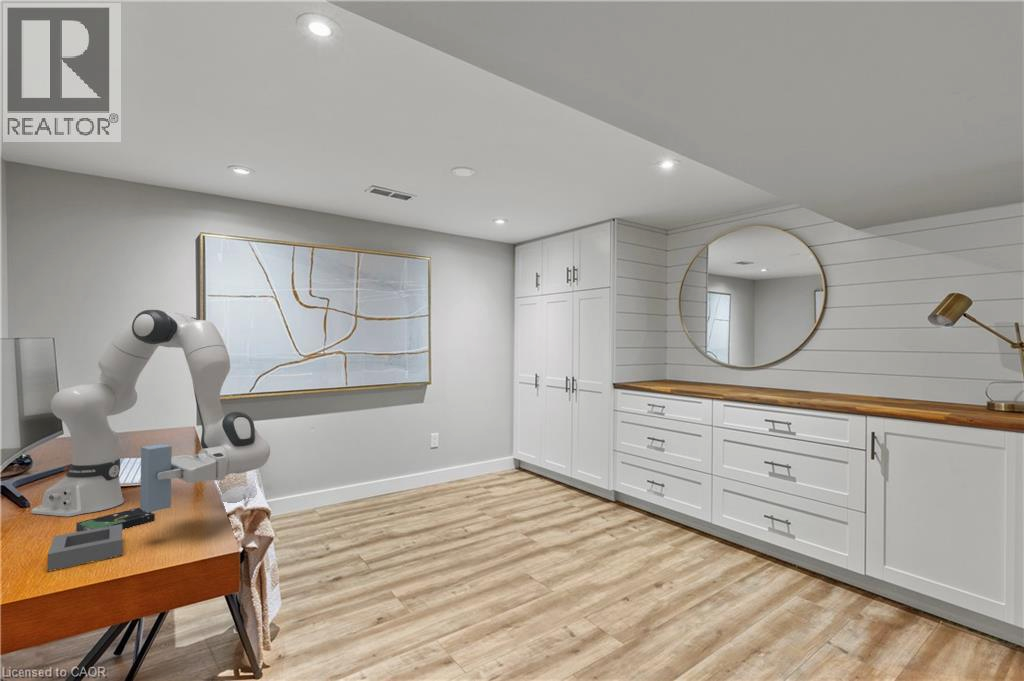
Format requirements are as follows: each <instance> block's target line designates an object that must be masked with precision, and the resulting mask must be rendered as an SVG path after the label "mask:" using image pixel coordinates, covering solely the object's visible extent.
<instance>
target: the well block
mask: <svg viewBox="0 0 1024 681" xmlns="http://www.w3.org/2000/svg"><path fill="white" fill-rule="evenodd" d="M123 539H124V538H123V530H122V524H119V525H113V526H107V527H102V528H96V529H91V530H85V531H80V532H78V531H75V532H69V533H64V534H58V535H54V536H53V538H52V541H51V544H50V547H49V550H48V552H47V571H50V570H54V569H60V568H64V569H67V568H66V567H69V568H72V567H71V566H74V567H76V566H75V565H78V564H83V563H86V562H91V561H97V560H101V561H103V560H102V559H106V560H108V559H107V558H111V557H115V556H120V555H122V556H123ZM120 557H121V556H120ZM115 558H116V557H115ZM111 559H112V558H111ZM97 562H98V561H97ZM83 565H84V564H83ZM78 566H79V565H78ZM60 570H61V569H60ZM47 571H46V572H47ZM50 572H51V571H50Z"/></svg>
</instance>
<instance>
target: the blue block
mask: <svg viewBox="0 0 1024 681" xmlns="http://www.w3.org/2000/svg"><path fill="white" fill-rule="evenodd" d="M172 449H173V447H172V445H169V444H165V443H161V444H154V445H146V446H141V447H140V492H139V493H140V500H139V501H140V502H139V508H140V509H141V510H143V511H145V512H147V513H149V512H151V513H154V512H157V511H161V510H165V509H170V508H171V507H172V502H171V501H172V479H162V480H159V479H157V478H156V473H157V472H161V471H170V470H171V457H172V456H173V455H172V451H173V450H172Z"/></svg>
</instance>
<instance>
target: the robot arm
mask: <svg viewBox="0 0 1024 681" xmlns="http://www.w3.org/2000/svg"><path fill="white" fill-rule="evenodd" d="M158 347H165V348H178V349H182V350H183V353H184V356H185V359H186V364H187V365H188V370H189V373H190V376H191V380H192V385H193V386H192V387H193V392H194V398H195V403H196V407H197V411H198V415H199V419H200V423H201V424H200V425H201V431H202V432H201V437H200V445H201V449H200V450H199V451H198V454H194V455H191V454H181V455H174V456H173V455H172V457H171V470H170V471H161V472H157V473H156V478H157V479H159V480H162V479H171V480H172V479H179V480H182V481H184V482H186V483H200V482H201V483H202V482H208V481H217V482H218V481H223V480H225V479H226V476H229V475H231V474H237V475H238V474H242V473H247V472H251V471H254V470H257V469H260V468H262V467H263V466H264V465H266V463H267V462H268V461H269V458H270V455H271V449H270V444H269V442H268V441H266V440H265V439H263V437H261V436H260V434H259V433H258V431H257V429H256V428H255V424H254V421H253V419H252V417H250V416H249V415H248V414H246V413H244V412H241V411H231V412H229V413H227V414H224V411H223V407H222V402H221V391H222V388H223V385H224V383H225V381H226V378H227V376H228V375H229V373H230V370H231V359H230V354H229V351H228V349H227V346H226V343H225V341H224V340H223V337H222V336H221V334H220V332H219V330H218V328H217V327H216V326H215V324H214V323H212V322H211V321H209V320H205V319H199V318H196V317H193V316H189V315H185V314H183V313H178V312H171V311H165V310H163V311H162V310H160V309H146V310H142V311H140V312H139V313H138V314H137V315H135V317H133V318H132V319H130V320H129V321H128V322H127V323H126V324H125V325H124V326H123V327H122V328H121V329H120V330H119V332H118V333H117V334H116V335H115V336H114V338H113V339H112V341H111V342H110V343H109V345H108V346H107V348H106V350H105V351H104V352H103V354H102V356H101V357H100V358H99V360H98V363H97V364H98V368H99V369H100V371H101V372H100V375H99V377H98V379H97V380H96V381H95V382H94V383H87V384H76V385H72V386H69V387H66V388H64V389H61V390H59V391H57V392H56V393H55V394H54V396H53V397H52V398H51V402H50V408H51V412H52V414H53V415H54V416H55V417H56V418H58V419H59V420H61V421H62V422H63V423H64V424H65V426H66V427H67V429H68V431H69V434H70V437H71V446H72V447H71V448H72V455H71V456H72V457H71V461H72V462H71V464H69V465H67V466H62V468H63V469H62V471H63V472H64V471H66V474H65V476H64V477H63V478H61V479H60V480H58V481H57V482H56V483H55V484H53V485H51V486H50V487H49V488H47V489H46V490H45V491H44V494H43V496H42V500H41V504H40V505H37V506H35V507H33V508H31V510H30V514H35V515H36V514H37V515H45V516H46V515H48V516H58V517H65V518H67V517H68V518H69V517H74V516H79V515H82V514H89V513H95V512H100V511H105V510H108V509H112V508H115V507H118V506H120V505H121V504H123V503H124V502H125V499H124V496H123V493H122V488H121V480H120V471H121V458H120V457H119V454H120V452H119V451H120V446H119V444H120V435H119V433H117V432H116V431H115V430H113V429H112V428H111V426H110V424H109V422H108V417H110V416H115V415H119V414H121V413H124V412H126V411H128V410H130V409H132V407H134V406H135V405H136V403H137V401H138V393H137V389H136V384H137V382H138V379H139V377H140V374H142V372H143V370H144V368H145V367H146V366H147V363H149V361H150V359H151V358H152V357H153V355H154V353H155V352H156V351H157V349H158Z"/></svg>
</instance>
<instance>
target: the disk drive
mask: <svg viewBox="0 0 1024 681" xmlns="http://www.w3.org/2000/svg"><path fill="white" fill-rule="evenodd" d="M155 517H156V516H155V513H154V512H149V513H147V512H145V511H143V510H141V509H140V507H136V508H131V509H128V510H123V511H119V512H115V513H111V514H107V515H104V516H99V517H95V518H91V519H90V518H89V519H86V520H83V521H79V522H76V526H75V527H76V529H75V530H76V531H75V532H80V531H85V530H91V529H96V528H102V527H107V526H113V525H119V524H122V529H124V530H126V529H125V528H127V529H131V528H134V527H133V526H135V527H137V525H138V526H142V525H145V523H146V524H148V522H149V523H152V522H151V521H153V522H155V521H154V520H156V518H155ZM141 524H142V525H141ZM130 527H131V528H130Z"/></svg>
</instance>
